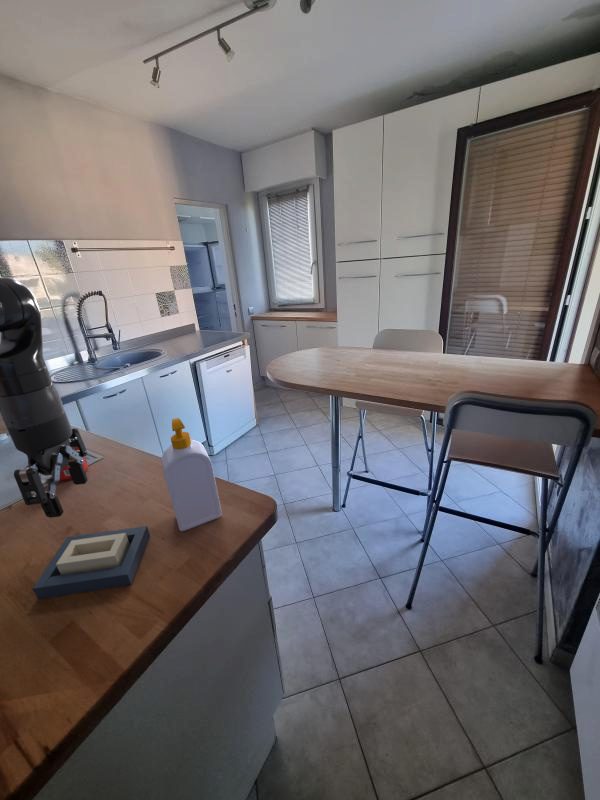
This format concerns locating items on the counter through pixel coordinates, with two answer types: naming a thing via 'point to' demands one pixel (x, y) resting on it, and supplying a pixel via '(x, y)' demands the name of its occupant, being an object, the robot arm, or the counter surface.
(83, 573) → the tray
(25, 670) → the counter surface
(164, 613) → the counter surface
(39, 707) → the counter surface
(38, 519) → the counter surface
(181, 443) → the soap bottle
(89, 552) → the frame
